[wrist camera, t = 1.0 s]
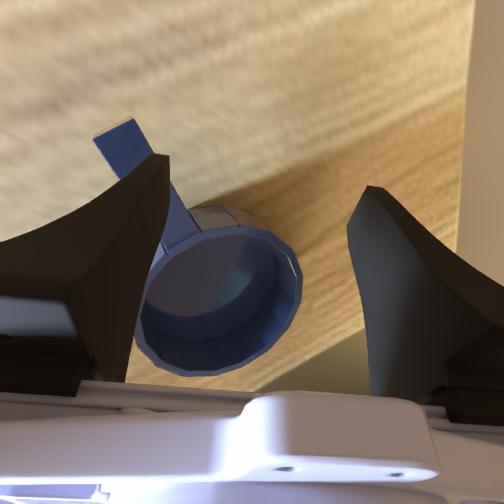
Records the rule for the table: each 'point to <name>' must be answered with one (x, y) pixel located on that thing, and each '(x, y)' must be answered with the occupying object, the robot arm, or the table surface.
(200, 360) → the blue measuring scoop
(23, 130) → the table surface
